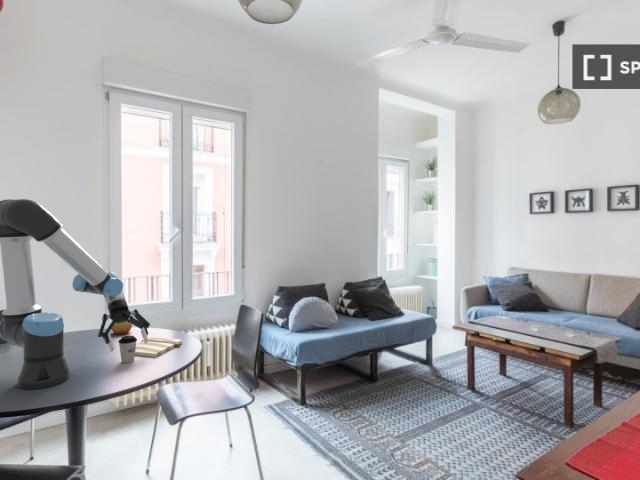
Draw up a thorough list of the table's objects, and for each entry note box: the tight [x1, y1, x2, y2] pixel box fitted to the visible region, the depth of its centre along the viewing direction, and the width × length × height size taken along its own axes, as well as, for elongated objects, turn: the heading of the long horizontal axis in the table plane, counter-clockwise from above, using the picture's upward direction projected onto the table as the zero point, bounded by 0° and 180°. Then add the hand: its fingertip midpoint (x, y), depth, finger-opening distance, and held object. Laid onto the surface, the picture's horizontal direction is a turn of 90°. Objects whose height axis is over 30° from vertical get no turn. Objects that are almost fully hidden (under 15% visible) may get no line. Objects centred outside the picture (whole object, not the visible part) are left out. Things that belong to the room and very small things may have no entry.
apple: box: [110, 321, 133, 335], centre depth 197 cm, size 10×10×8 cm
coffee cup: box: [118, 335, 138, 364], centre depth 157 cm, size 7×7×10 cm
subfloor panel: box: [135, 336, 183, 358], centre depth 174 cm, size 20×19×2 cm
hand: (130, 345), depth 158 cm, fingers open, 13 cm apart
